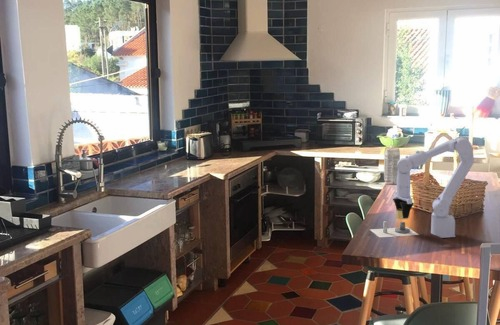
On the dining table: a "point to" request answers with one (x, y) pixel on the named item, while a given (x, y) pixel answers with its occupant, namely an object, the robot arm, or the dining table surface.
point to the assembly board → (393, 231)
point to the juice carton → (391, 164)
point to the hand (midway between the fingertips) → (402, 216)
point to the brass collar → (400, 214)
